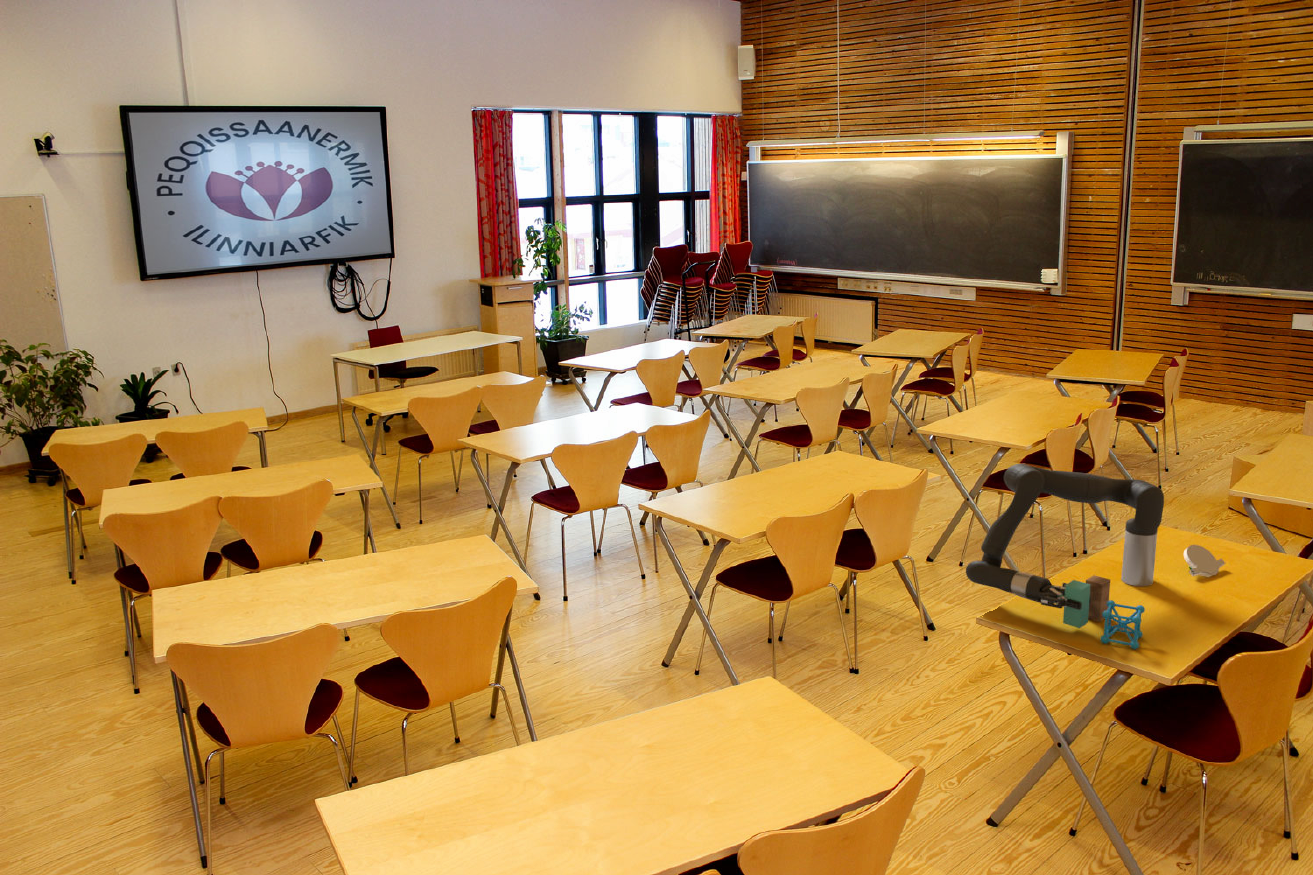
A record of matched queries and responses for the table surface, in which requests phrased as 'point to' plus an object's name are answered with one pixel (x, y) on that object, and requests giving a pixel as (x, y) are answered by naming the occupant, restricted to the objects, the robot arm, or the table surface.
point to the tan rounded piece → (1202, 561)
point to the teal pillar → (1080, 594)
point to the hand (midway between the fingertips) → (1085, 603)
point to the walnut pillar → (1098, 597)
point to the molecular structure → (1122, 624)
